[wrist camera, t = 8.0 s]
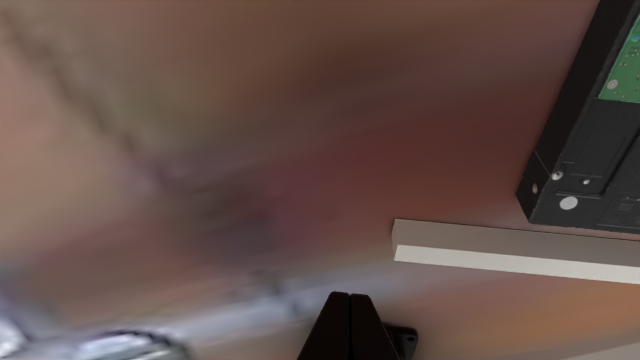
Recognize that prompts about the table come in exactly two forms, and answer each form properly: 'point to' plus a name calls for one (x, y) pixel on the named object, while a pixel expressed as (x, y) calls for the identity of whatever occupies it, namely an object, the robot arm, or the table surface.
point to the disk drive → (593, 133)
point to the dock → (516, 251)
